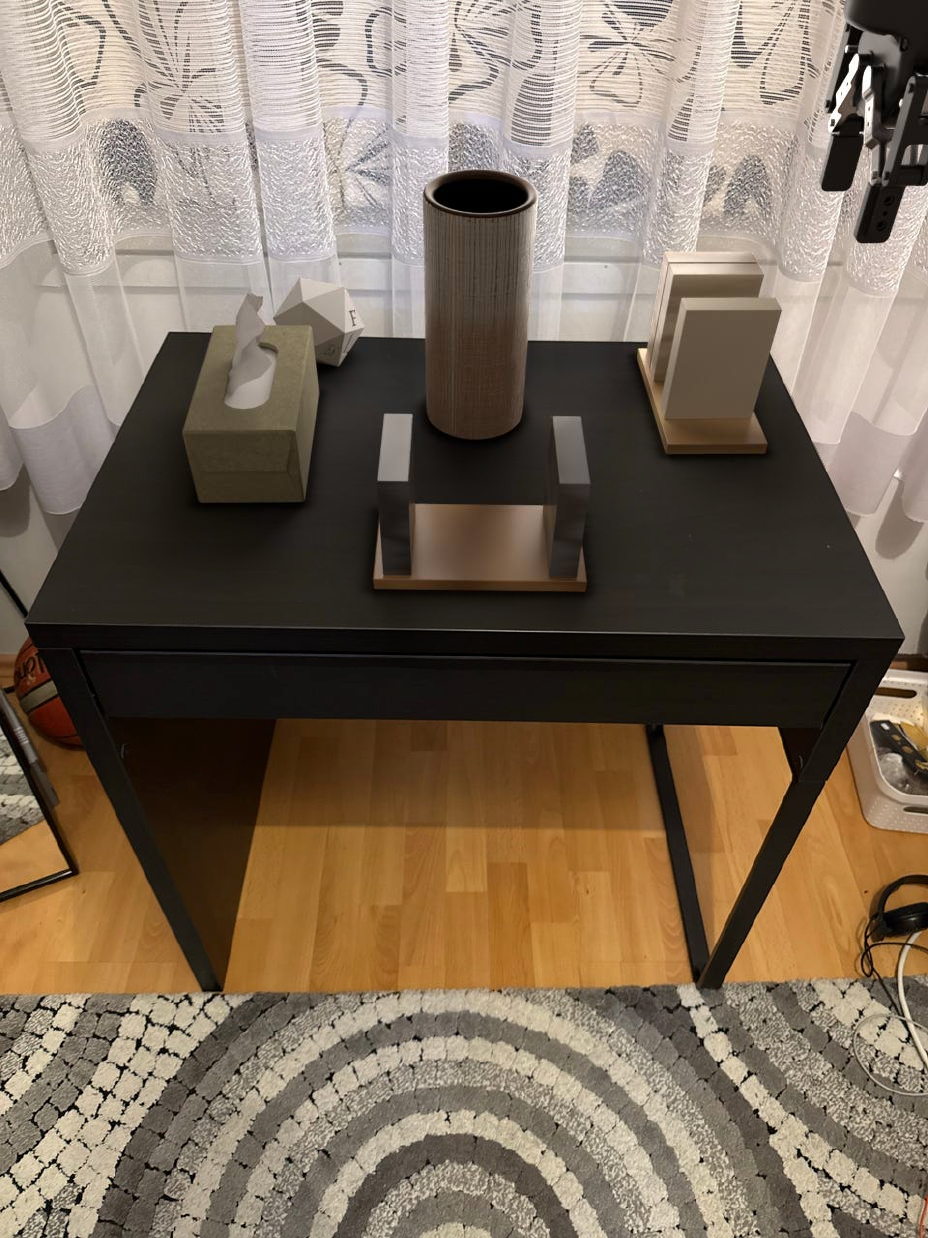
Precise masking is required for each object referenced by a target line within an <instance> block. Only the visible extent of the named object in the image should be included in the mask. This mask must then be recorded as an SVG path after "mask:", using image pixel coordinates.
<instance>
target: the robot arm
mask: <svg viewBox="0 0 928 1238" xmlns="http://www.w3.org/2000/svg"><path fill="white" fill-rule="evenodd" d="M842 13H843V14H842V15H843V18H844V19H845V24H844V27H843V31H842V35H841V39H840V43H839V46H838V50H837V54H836V58H835V61H834V65H833V70H832V73H831V76H830V81H829V84H828V85H829V86H828V89H827V92H826V96H825V100H824V102H823V112H824V114H825V115H826V114H827V115H828V114H829V115H830V117H829V120H828V125H827V126H828V132H829V133H830V136H829V140H828V144H827V148H826V153H825V155H824V160H823V164H822V168H821V172H820V176H819V179H818V185H819V187H820V188H821V190H822V191H823V192H826V193H832V192H834V193H835V192H840V193H841V192H847V191H848V190H850V189H851V187H852V185H853V183H854V179H855V176H856V172H857V169H858V165H859V161H860V157H861V154H862V151H863V147H864V146H865V147H866V148H867V149H869V150H870V152H871V153H870V166H869V167H870V169H869V171H870V172H869V181H868V182H867V184H866V188H865V191H864V193H863V198H862V201H861V205H860V208H859V212H858V215H857V218H856V221H855V226H854V229H853V233H852V234H853V238H854V239H855V241H856V242H857V243H858V244H861V245H862V244H866V245H867V244H884V243H885V242H887V241H888V240H889V239H890V237H891V234H892V231H893V228H894V225H895V223H896V219H897V216H898V213H899V210H900V207H901V203H902V200H903V197H904V194H905V190H906V188H907V187H926V186H927V185H928V0H845V1H844V5H843V12H842ZM919 146H921V150H920V154H919ZM888 148H889V150H887V149H888ZM887 151H888V153H887Z"/></svg>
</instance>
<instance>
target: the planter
mask: <svg viewBox="0 0 928 1238" xmlns="http://www.w3.org/2000/svg"><path fill="white" fill-rule="evenodd" d="M538 194H539V193H538V191H537V189H536V187H535V186H534V185H533V184H532V183H531V182H530V181H529V180H527V179H525V178H524V177H522V176H519V175H516V174H515V173H510V172H508V171H503V170H497V169H486V168H469V169H459V170H453V171H449V172H446V173H443V174H440V175H438V176H436V177H434V178H433V179H431V180H430V181H428V182H427V184H426V185H425V186H424V188H423V191H422V229H423V230H422V232H423V233H422V236H423V237H422V239H423V240H422V241H423V295H424V296H423V300H424V352H425V353H424V355H425V356H424V358H425V361H424V363H425V404H426V405H425V406H426V415H427V418H428V420H429V422H430V423H431V424H432V425H433V426H434V427H435V428H436V429H438V430H439V431H440V432H443V433H444V434H447V435H449V436H452V437H455V438H457V439H463V440H473V441H474V440H489V439H493V438H496V437H499V436H502V435H504V434H506V433H509V432H510V431H512V430H513V429H515V428H516V427H517V425H518V424H519V423H520V422H521V419H522V415H523V408H524V397H525V396H524V395H525V383H526V368H527V354H528V341H529V330H530V329H529V326H530V316H531V315H530V313H531V303H532V302H531V299H532V287H533V273H534V261H535V260H534V258H535V245H536V229H537V219H538V218H537V217H538V206H539V205H538V203H539V202H538V201H539V195H538Z"/></svg>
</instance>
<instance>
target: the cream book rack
mask: <svg viewBox="0 0 928 1238" xmlns="http://www.w3.org/2000/svg"><path fill="white" fill-rule="evenodd" d="M764 277H765V273H764V271H763V270H762V268H761V266H760V264H759V263H758V261H757V259H756V257H755V255H754V253H753V252H752V251H664V252H663V257H662V262H661V268H660V273H659V278H658V279H659V280H658V285H657V290H656V297H655V302H654V308H653V314H652V319H651V324H650V329H649V335H648V340H647V346H646V348H638V349H637V355H636V359H637V363H638V366H639V367H638V368H639V369H640V374H641V376H642V379H643V383H644V387H645V389H646V393H647V396H648V399H649V402H650V406H651V409H652V413H653V417H654V419H655V423H656V425H657V429H658V432H659V436H660V439H661V443H662V445H663V448H664V452H665V454H666V455H718V454H719V455H729V454H730V455H732V454H734V455H736V454H738V455H740V454H745V455H748V454H766V451H767V448H768V445H769V443H768V442H767V438H766V436H765V434H764V432H763V429H762V427H761V425H760V423H759V420H758V418H757V415H756V413H755V410H753V414H752V417H751V419H664V417H663V414H662V410H661V407H660V404H661V399H662V394H663V389H664V384H665V379H666V374H667V369H668V364H669V359H670V354H671V349H672V343H673V338H674V333H675V328H676V323H677V318H678V313H679V308H680V303H681V299H682V298H759V296H760V292H761V289H762V285H763V281H764Z"/></svg>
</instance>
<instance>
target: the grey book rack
mask: <svg viewBox="0 0 928 1238" xmlns="http://www.w3.org/2000/svg"><path fill="white" fill-rule="evenodd" d="M413 418H414V415H413V414H412V413H384V414H383V417H382V426H381V427H382V428H381V439H380V449H379V457H378V466H377V478H376V490H377V504H378V505H377V506H378V527H377V536H376V545H375V555H374V565H373V566H374V567H373V575H372V576H373V577H372V583H373V589H374V590H417V591H418V590H419V591H420V590H423V591H425V590H426V591H429V590H430V591H496V592H498V591H502V592H505V591H506V592H508V591H509V592H576V593H577V592H580V593H581V592H582V593H585V592H586V590H587V584H588V579H587V572H586V564H585V556H584V548H583V539H584V534H585V533H584V532H585V524H586V518H587V513H588V506H589V505H588V504H589V499H590V491H591V484H592V483H591V477H590V471H589V463H588V457H587V449H586V444H585V443H586V442H585V437H584V430H583V429H584V428H583V423H582V417H581V416H572V415H571V416H567V415H566V416H565V415H564V416H563V415H562V416H561V415H553V416H551V422H550V431H549V432H550V434H549V442H548V452H547V453H548V454H547V462H546V473H545V483H544V493H543V501H542V502H543V503H542V505H541V504H540V505H534V504H533V505H531V504H530V505H529V504H462V503H461V504H459V503H457V504H456V503H455V504H451V503H449V504H448V503H416V483H415V482H416V481H415V449H414V447H415V446H414V445H415V444H414V419H413Z"/></svg>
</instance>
